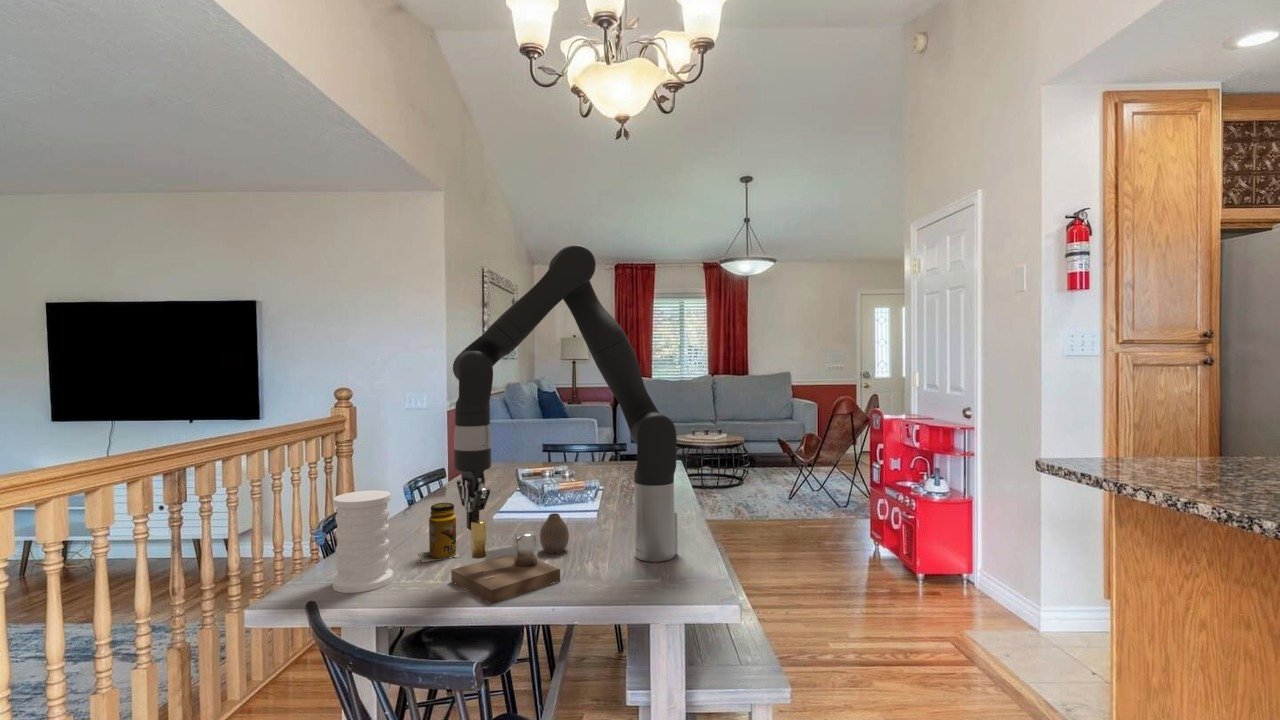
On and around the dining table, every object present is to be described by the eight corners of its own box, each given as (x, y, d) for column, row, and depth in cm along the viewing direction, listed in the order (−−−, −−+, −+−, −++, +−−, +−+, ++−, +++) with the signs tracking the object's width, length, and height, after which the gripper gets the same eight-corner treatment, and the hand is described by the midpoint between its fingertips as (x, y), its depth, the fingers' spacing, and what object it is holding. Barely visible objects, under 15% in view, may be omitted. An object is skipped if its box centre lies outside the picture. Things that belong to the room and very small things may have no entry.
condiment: (460, 557, 141) (459, 506, 141) (421, 563, 138) (421, 510, 138) (455, 548, 148) (454, 499, 148) (418, 554, 144) (417, 503, 144)
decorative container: (359, 596, 118) (358, 504, 118) (319, 587, 123) (318, 499, 123) (405, 577, 129) (404, 492, 129) (366, 569, 134) (365, 488, 134)
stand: (517, 562, 137) (517, 551, 137) (560, 580, 125) (560, 567, 125) (451, 581, 126) (451, 568, 126) (491, 603, 114) (491, 588, 114)
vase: (563, 556, 141) (563, 518, 141) (535, 554, 143) (535, 517, 143) (572, 547, 148) (572, 511, 148) (546, 546, 149) (545, 510, 149)
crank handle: (532, 556, 133) (532, 511, 133) (541, 563, 128) (540, 515, 128) (468, 568, 125) (468, 520, 125) (475, 575, 121) (474, 525, 121)
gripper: (502, 448, 124) (502, 533, 124) (477, 441, 134) (478, 519, 134) (467, 452, 119) (467, 540, 119) (444, 444, 130) (444, 524, 130)
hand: (472, 528), depth 127 cm, fingers closed
